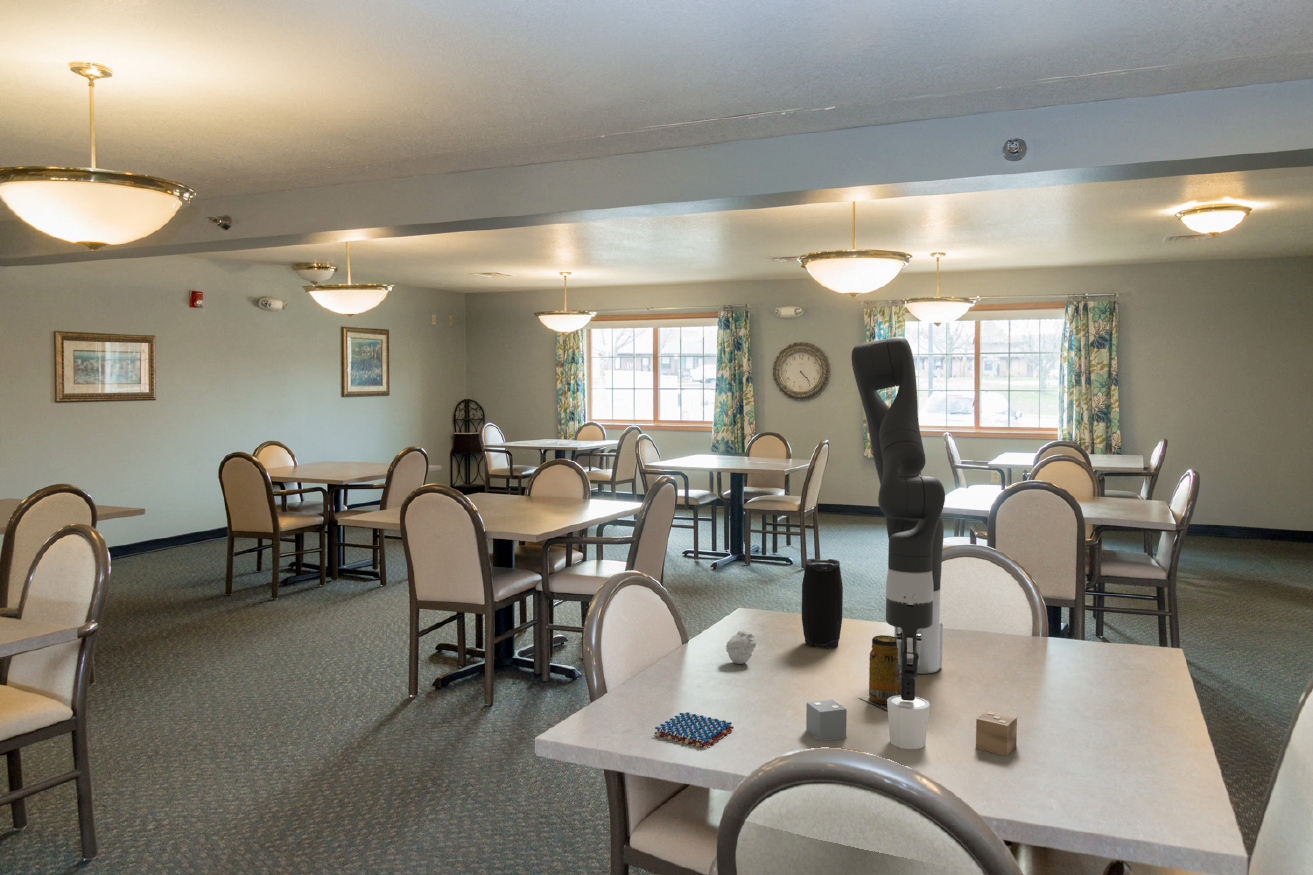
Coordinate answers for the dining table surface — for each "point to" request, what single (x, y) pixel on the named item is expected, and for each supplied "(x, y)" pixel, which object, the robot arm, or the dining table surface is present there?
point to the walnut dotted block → (996, 732)
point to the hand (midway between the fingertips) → (907, 698)
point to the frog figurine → (741, 647)
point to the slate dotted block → (826, 720)
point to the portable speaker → (822, 602)
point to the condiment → (883, 671)
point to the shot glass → (908, 722)
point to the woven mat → (694, 729)
